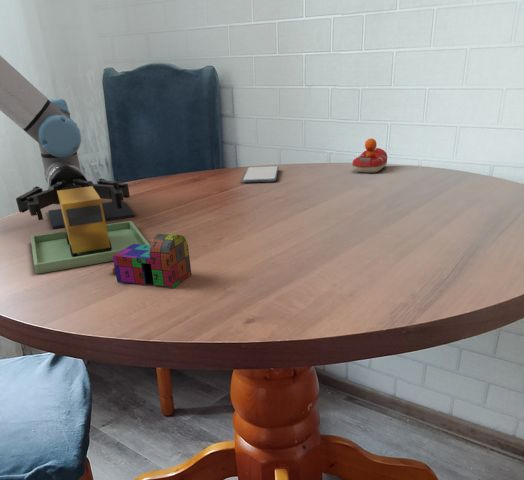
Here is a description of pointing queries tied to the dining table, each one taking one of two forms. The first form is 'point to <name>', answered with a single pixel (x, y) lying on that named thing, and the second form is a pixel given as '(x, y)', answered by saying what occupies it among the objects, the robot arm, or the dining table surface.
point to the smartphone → (261, 174)
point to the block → (154, 261)
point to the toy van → (83, 220)
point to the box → (59, 256)
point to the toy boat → (370, 158)
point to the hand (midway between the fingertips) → (79, 206)
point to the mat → (108, 208)
